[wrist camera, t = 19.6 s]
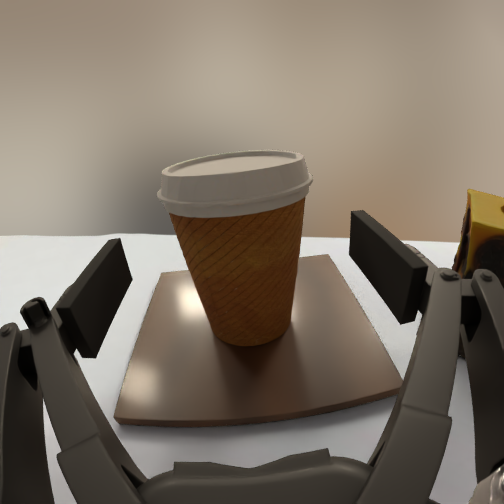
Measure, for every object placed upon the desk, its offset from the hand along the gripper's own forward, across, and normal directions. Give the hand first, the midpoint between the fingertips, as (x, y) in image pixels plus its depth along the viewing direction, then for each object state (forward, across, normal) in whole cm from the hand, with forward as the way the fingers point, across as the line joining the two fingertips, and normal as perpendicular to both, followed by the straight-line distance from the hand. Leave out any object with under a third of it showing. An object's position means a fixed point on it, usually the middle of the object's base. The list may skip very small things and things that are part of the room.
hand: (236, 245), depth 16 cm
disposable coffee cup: (+3, 0, -8) cm, 9 cm away
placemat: (+3, 0, -9) cm, 9 cm away
